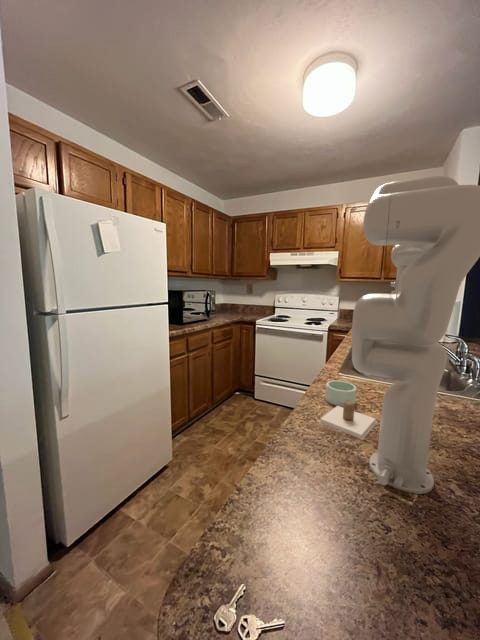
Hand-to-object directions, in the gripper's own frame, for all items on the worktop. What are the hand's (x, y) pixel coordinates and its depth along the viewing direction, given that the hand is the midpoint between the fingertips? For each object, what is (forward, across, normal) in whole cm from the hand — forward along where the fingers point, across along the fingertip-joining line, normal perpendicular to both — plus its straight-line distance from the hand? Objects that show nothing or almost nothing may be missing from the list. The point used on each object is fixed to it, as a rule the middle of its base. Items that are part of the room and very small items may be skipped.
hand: (403, 341), depth 84 cm
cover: (+24, -9, -17) cm, 31 cm away
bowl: (+24, -17, -4) cm, 30 cm away
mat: (+25, -9, -17) cm, 31 cm away
